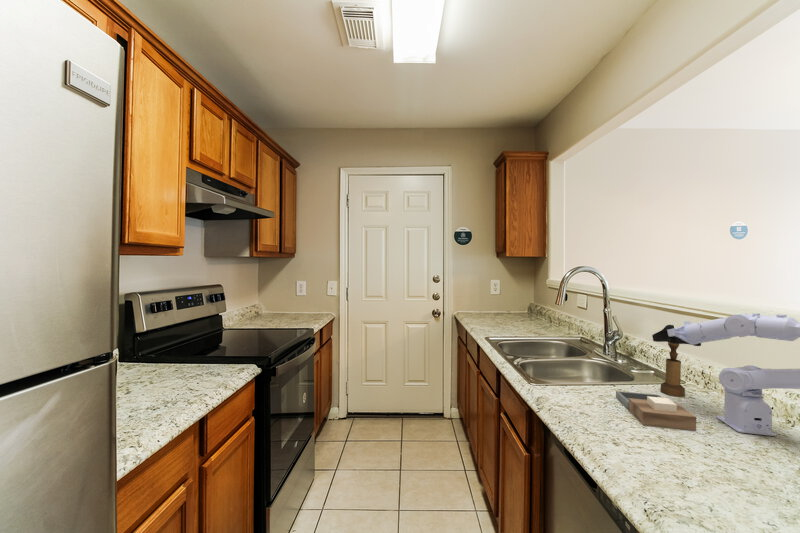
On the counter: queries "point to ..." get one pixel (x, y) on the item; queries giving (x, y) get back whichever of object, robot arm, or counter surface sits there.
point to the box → (625, 397)
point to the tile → (661, 404)
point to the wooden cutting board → (662, 416)
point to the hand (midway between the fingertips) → (662, 339)
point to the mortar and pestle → (673, 374)
